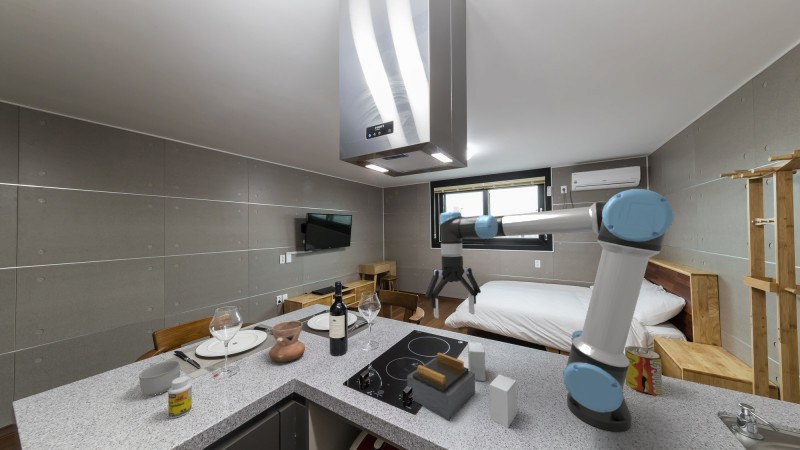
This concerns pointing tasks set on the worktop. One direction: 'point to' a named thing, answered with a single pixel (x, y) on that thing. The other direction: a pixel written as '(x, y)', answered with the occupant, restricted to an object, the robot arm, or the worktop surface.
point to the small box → (477, 360)
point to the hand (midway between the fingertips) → (454, 315)
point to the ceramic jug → (287, 341)
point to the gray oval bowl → (159, 377)
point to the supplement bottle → (179, 397)
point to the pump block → (503, 400)
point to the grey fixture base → (442, 385)
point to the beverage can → (644, 370)
